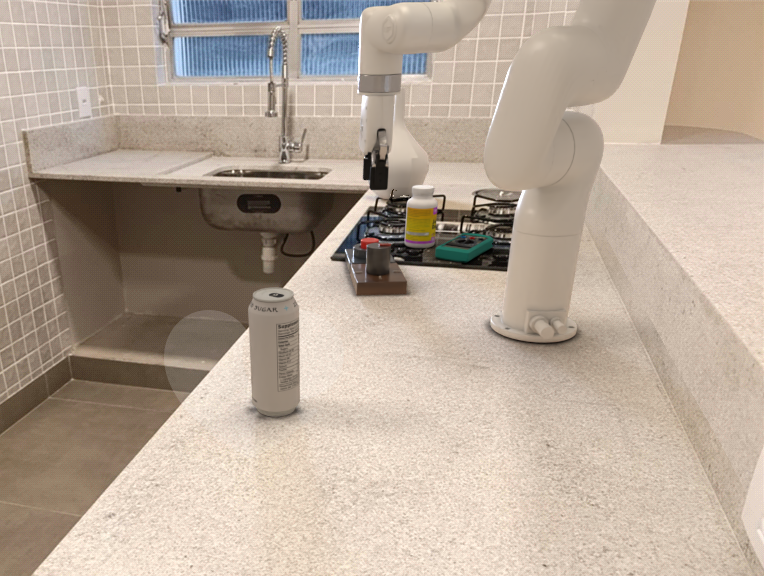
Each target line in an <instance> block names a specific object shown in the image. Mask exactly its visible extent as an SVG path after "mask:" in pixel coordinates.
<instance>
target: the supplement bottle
mask: <svg viewBox="0 0 764 576" xmlns="http://www.w3.org/2000/svg"><path fill="white" fill-rule="evenodd" d="M434 193H435V186H434V185H429V184H423V185H416V186H413V187H412V194H413V197H411V198H408V200H407V202H406V209H405V211H406V212H405V227H404V228H405V229H404V241H403V242H404V245H405V246H406V247H408V248H411V249H412V248H413V249H429V248H431V247H433V246H434V245H435V242H436V234H437V233H436V231H437V218H438V200H437V199H436V198H434Z"/></svg>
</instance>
